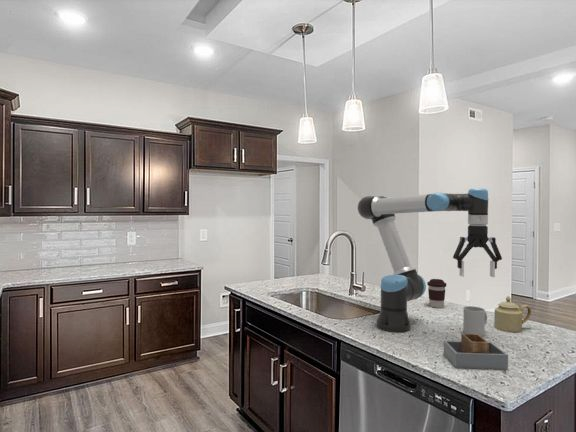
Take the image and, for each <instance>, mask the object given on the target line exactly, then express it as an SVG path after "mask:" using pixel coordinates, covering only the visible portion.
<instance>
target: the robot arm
mask: <svg viewBox="0 0 576 432" xmlns="http://www.w3.org/2000/svg"><path fill="white" fill-rule="evenodd" d="M489 200H490V199H489V190H488V189H487V188H469V189H468V192H467V193H447V192H446V193H444V192H434V193H428V194H427V193H426V194H417V195H416V194H415V195H405V196H396V197H394V196H393V197H388V196H383V195H382V196H373V195H372V196H371V195H368V196H364V197H362V198H361V199H360V200H359V202H358V203H357V211H358V214H359V215H360V217H362V218H363V219H365V220H371V222H372V224H373V226H374V227H376V228H377V229H378V232H379V235H380V238H381V240H382V244H383V245H384V247H385V250H386V253H387V256H388V259H389V262H390V265H391V268H392V269H393V274H388V275H385V276H384V277H382V278H381V281H380V310H379V314H378V316H377V319H376V327H377V328H379V329H380V330H382V331H386V332H393V333H404V332H408V331H410V330H411V329H412V327H411V325H412V324H411V321H410V317H409V314H408V305H407V304H408V302H409V301H413V300H417V299H419V298H421V297H422V296H423V295H424V294H425V291H426V289H427V285H426V283H427V282H426V281H425V279H424V278H423V276H421V275H420V274H418V271H417V269H416V268H415V267H413V266H412V265H411V263H410V260H409V257H408V255H407V252H406V250H405V247H404V245H403V242H402V239H401V236H400V235H399V231H398V229H397V226H396V224H395V220H396V214H411V213H425V212H426V213H427V212H429V213H430V212H467V214H468V215H467V224H468V226H467V237H466V236H465V237H464V236H460V237H459V242H458V245H457V247H456V249H455V251H454V254H453V256H452V259H454V260H457V269H459V277H463V278H464V276H465V261H464V258H465V257H466V256H467V255H468V254H469V252H470V251H471V250H472V249H473V248H482V249H484V252H486V254H487V255H488V257H490V259H491V260H490V261H489V277H492V278H495V275H496V273H495V271H496V270H497V268H498V262H499V261H502V259H503V257H502V254H501V252H500V250H499V247H498V246H497V239H496V237H494V236H491V237H488V231H489V229H488V228H489V227H488V224H489ZM466 242H468V243H467V244H466V246H465V243H466ZM488 242H489V244H490V246H491V248H492V250H491V248H490V247H489V245H488V244H487V243H488ZM464 246H465V248H464V249H463V247H464ZM462 250H463V251H462Z"/></svg>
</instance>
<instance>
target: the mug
mask: <svg viewBox="0 0 576 432" xmlns="http://www.w3.org/2000/svg"><path fill="white" fill-rule="evenodd" d="M462 320H463V324H462V325H463V327H462V330H463V331H462V333H463V334H478V335H480V336H481V337H484V336H485V330H486V329H485V327H486V325H487V322H488V315H487V312H486V311H485V309H484V308H482V307H479V306H473V305H472V306H469V305H468V306H464V307H463V319H462Z"/></svg>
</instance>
